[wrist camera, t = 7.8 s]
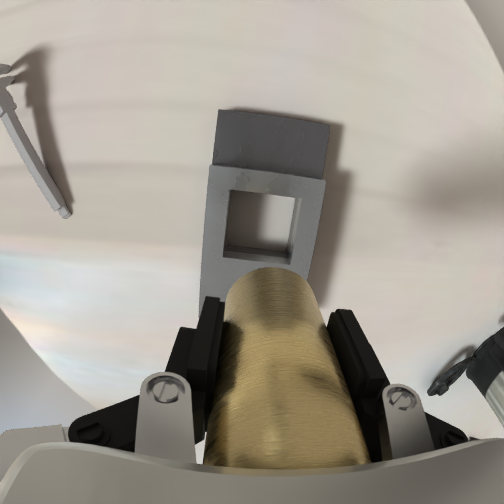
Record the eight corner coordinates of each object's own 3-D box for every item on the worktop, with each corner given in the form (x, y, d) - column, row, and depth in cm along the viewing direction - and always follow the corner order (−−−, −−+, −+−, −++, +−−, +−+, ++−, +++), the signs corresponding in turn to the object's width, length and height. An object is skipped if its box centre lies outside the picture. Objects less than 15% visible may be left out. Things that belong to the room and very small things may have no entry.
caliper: (6, 71, 20) (-29, 67, 14) (12, 65, 20) (-24, 60, 14) (66, 218, 27) (31, 237, 21) (73, 213, 27) (38, 232, 21)
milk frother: (508, 350, 34) (553, 404, 21) (440, 409, 38) (473, 473, 24) (497, 303, 31) (560, 364, 17) (415, 376, 35) (458, 457, 21)
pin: (229, 261, 12) (189, 515, 3) (324, 272, 13) (424, 497, 3) (221, 339, 14) (196, 552, 4) (305, 347, 14) (346, 549, 5)
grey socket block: (220, 111, 23) (216, 107, 20) (325, 126, 24) (335, 124, 21) (203, 301, 30) (198, 317, 27) (292, 311, 30) (296, 327, 27)
